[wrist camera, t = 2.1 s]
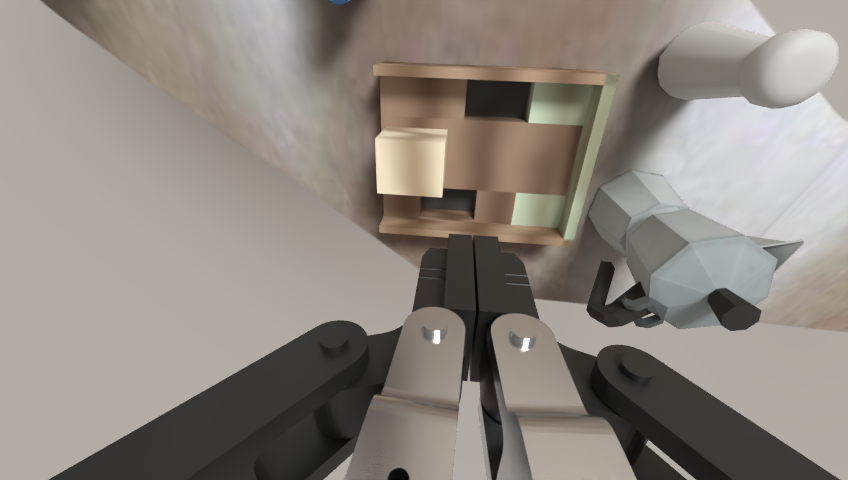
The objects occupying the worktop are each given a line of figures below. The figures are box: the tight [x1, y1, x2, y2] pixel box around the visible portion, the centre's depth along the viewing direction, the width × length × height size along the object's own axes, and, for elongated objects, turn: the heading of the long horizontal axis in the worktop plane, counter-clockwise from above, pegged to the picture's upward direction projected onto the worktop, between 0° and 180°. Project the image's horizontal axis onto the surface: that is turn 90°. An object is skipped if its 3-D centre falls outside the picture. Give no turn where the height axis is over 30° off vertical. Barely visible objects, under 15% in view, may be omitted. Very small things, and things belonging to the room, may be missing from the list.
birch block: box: [375, 126, 448, 198], centre depth 33 cm, size 6×5×5 cm
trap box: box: [373, 62, 619, 247], centre depth 35 cm, size 20×16×5 cm
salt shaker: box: [657, 22, 839, 108], centre depth 26 cm, size 6×6×13 cm
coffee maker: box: [587, 170, 804, 331], centre depth 31 cm, size 15×9×18 cm, turn 126°
